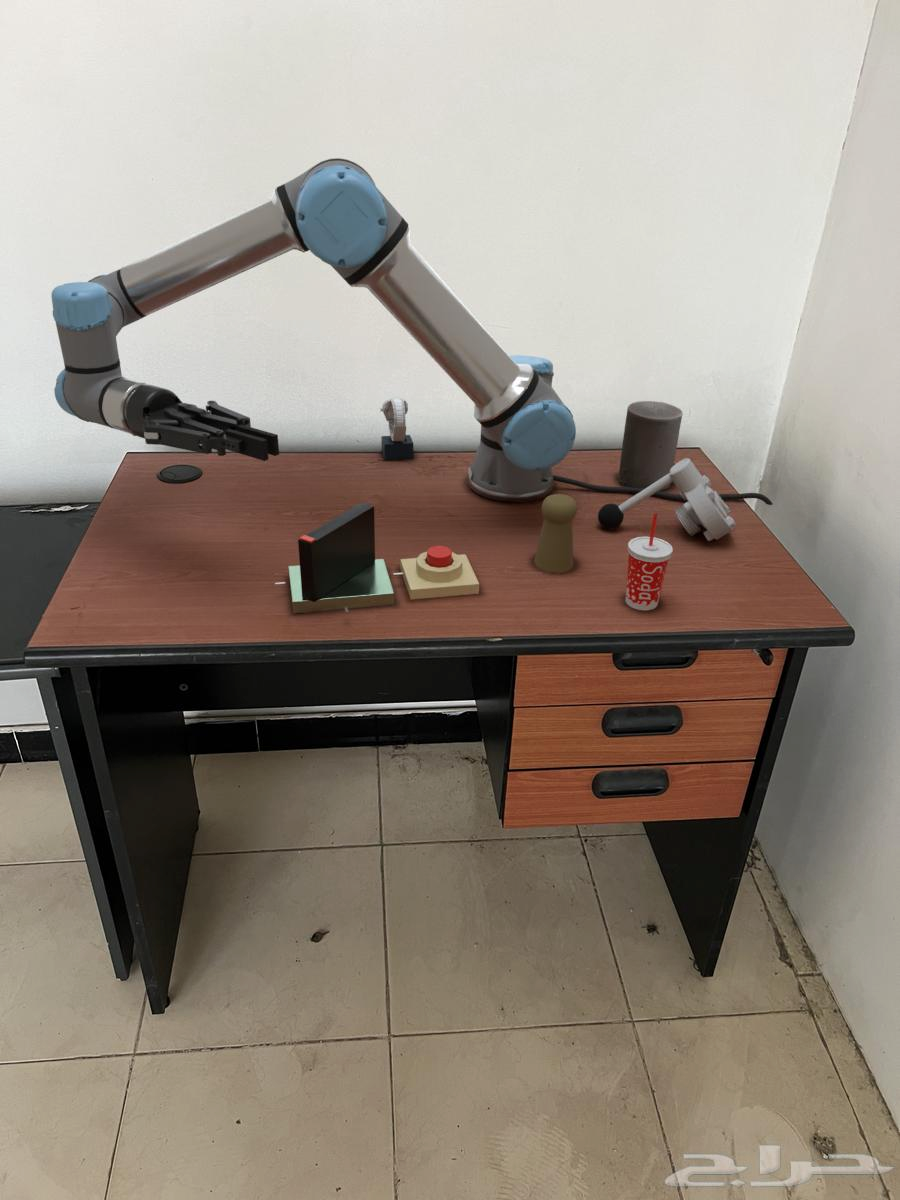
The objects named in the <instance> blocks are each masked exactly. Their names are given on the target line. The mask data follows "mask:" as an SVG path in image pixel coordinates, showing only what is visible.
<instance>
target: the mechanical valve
mask: <svg viewBox="0 0 900 1200" xmlns="http://www.w3.org/2000/svg"><path fill="white" fill-rule="evenodd" d="M699 471H700V470H698V468H697V467H696V466H695V464H694V463H693V461H692V460H691V458H689V457H688V458H687V457H685V458H682V459H681V460H680V461H678V462H676V463H674V466H673V467H672V468H671V469H670V473H669V474H667V475H666V476H664V477H662V478H661V479H659V480H658V481H656V482H655V483H653V484H652V485H650V486H649V487H647V488H646V489H644V490H642V491H641V492H639V493H635V495H633V496H632V497H629V498H628V499H627V500H626V501H624V502H623V503H621V504H620V505H618V504H615V503H606V504H604V505H603V506H602V507H600V509H599V510H598V513H597V520H598V522H599V524H600V525H601V526H602V527H603V528H605V529H607V530H613V529H614V530H615V529H616V528H618V527H619V526H621V525H622V524H623V521H624V516H625V515H624V514H625V513H626V512H628V511H630V510H631V509H633V508H634V507H636V506H637V505H639V504H640V503H642V502H644V501H645V500H647V499H648V498H650V497H651V496H653V494H654V493H656V492H657V491H659V490H660V489H662V488H664V487H665V486H667V485H668V484H670V485H671V484H672V483H673V485H675V487H676V488H677V490H678V491H679V495H681V496H682V497H683V499H684V500H686V499H687V500H688V501H685V503H683V504H682V505H680V506H678V507H677V508H676V507H675V508H676V509H675V510H674V512H675V514H676V516H677V518H678V521H679V522H680V523H681V525H682V526H683V528H684V530H685V531H686V532H687V533H688V534H689V535H690V536H691V537H693V536H695V535H696V534H698V533H700V531H701V532H702V528H701V526H702V527H703V528H704V529H706V530H705V531H703V535H704V537H705V539H706V540H707V541H708V542H710V541H712V540H714V539H715V540H716V541H717V540H719V539H721V538H722V537H724V536H725V535H727V534H729V533H730V532H732V531H733V530H734V528H735V527H736V526H737V525H736V522H735V520H734V519H733V517H731V515H728V514H730V513H731V511H730V508H729V506H728V505H727V504H726V503H725V502H724V499H721V497H720V496H719V494H720V493H718V491H716V490H714V489H713V488H711V487H710V486H712V484H711V481H710V479H709V477H708V476H706V475H705V474H703V475H702V474H701V473H700V472H699ZM700 525H701V526H700Z"/></svg>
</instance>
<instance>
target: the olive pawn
mask: <svg viewBox="0 0 900 1200" xmlns="http://www.w3.org/2000/svg"><path fill="white" fill-rule="evenodd" d="M577 513H578V505H577V502H576V500H575V499H574V498H573V497H571V496H570V495H567V494H562V493H554V494H549V495H547V496H545V497H544V499H543V502H542V504H541V514H542V516H543V521H542V527H541V530H540V535H539V540H538V543H537V547H536V552H535V556H534V561H533V562H534V565H535V566H536V568H538V569H540V570H541V571H545V572H547V573H555V574H557V573H565V572H568V571H570V570H572V569H573V567H574V565H575V563H574V537H573V520H574V519H575V518H576V516H577Z"/></svg>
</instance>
